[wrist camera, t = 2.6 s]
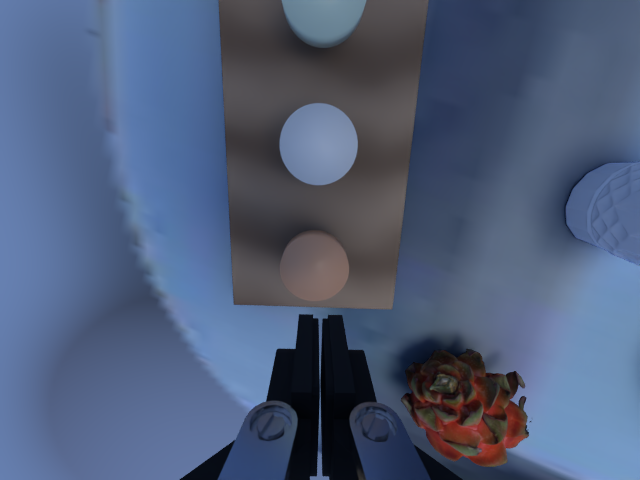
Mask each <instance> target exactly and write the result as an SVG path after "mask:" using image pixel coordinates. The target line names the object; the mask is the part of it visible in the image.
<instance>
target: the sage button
mask: <svg viewBox="0 0 640 480" xmlns="http://www.w3.org/2000/svg"><path fill="white" fill-rule="evenodd" d="M282 4H283V9H284V13H285V16H286V19H287V22H288V24H289V26H290V28H291V29H292V31H293V32H294V33H295V35H296V36H297V37H298V38H299V39H301V40H302V41H303V42H305V43H307V44H309V45H311V46H314V47H318V48H329V47H333V46H336V45H339V44H340V43H342V42H344V41H345V40H346V39H348V38H349V37H350V36H351V35H352V33H353V32H354V31H355V29H356V28H357V26H358V24H359V22H360V19H361V17H362V14H363V10H364V7H365V4H366V0H282Z"/></svg>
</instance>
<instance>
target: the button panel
mask: <svg viewBox="0 0 640 480" xmlns="http://www.w3.org/2000/svg"><path fill="white" fill-rule="evenodd" d="M427 9H428V0H366V4H365V7H364V10H363V14H362V17H361V19H360V22H359V24H358V26H357V28H356V29H355V31H354V32H353V33H352V35H351V36H350V37H349V38H348V39H346V40H345V41H344V42H342V43H340V44H339V45H336V46H333V47H329V48H318V47H314V46H311V45H309V44H307V43H305V42H303V41H302V40H301V39H299V38H298V37H297V36H296V35H295V33H294V32H293V31H292V29H291V28H290V26H289V24H288V22H287V19H286V16H285V13H284V9H283V4H282V0H219V17H220V37H221V57H222V77H223V97H224V117H225V137H226V158H227V178H228V198H229V218H230V238H231V258H232V278H233V298H234V305H266V306H299V307H331V308H363V309H392V307H393V298H394V290H395V281H396V273H397V264H398V256H399V247H400V239H401V230H402V221H403V213H404V204H405V196H406V187H407V179H408V170H409V162H410V153H411V145H412V136H413V128H414V119H415V111H416V102H417V94H418V85H419V77H420V68H421V60H422V51H423V43H424V34H425V26H426V17H427ZM313 103H324V104H329V105H332V106H334V107H336V108H338V109H340V110H341V111H342V112H344V113H345V114H346V115H347V116H348V118H349V119H350V120H351V122H352V124H353V126H354V128H355V130H356V134H357V140H358V149H357V155H356V158H355V161H354V163H353V165H352V167H351V168H350V169H349V171H348V172H347V173H346V174H345V175H344V176H343V177H342V178H340V179H339V180H337V181H335V182H333V183H330V184H326V185H311V184H307V183H305V182H302V181H300V180H299V179H297V178H296V177H294V176H293V175H292V174H291V173H290V171H289V170H288V169H287V167H286V166H285V164H284V162H283V160H282V157H281V153H280V135H281V131H282V128H283V126H284V124H285V122H286V121H287V119H288V118H289V117H290V116H291V115H292V114H293V113H294V112H295V111H296V110H298V109H299V108H301V107H303V106H305V105H308V104H313ZM310 230H320V231H325V232H327V233H329V234H331V235H333V236H334V237H336V238H337V239H338V240H339V241H340V242H341V244H342V245H343V247H344V249H345V252H346V255H347V259H348V262H349V276H348V279H347V281H346V284H345V285H344V287H343V288H342V289H341V290H340V291H339V292H338V293H337V294H336V295H334V296H333V297H331V298H329V299H326V300H322V301H307V300H303V299H300V298H298V297H296V296H295V295H293V294H292V293H291V292H290V291H289V290H288V289H287V288H286V287H285V285H284V283H283V282H282V279H281V275H280V262H281V259H282V256H283V253H284V250H285V248H286V246H287V244H288V243H289V242H290V240H291V239H292V238H294V237H295V236H296V235H298V234H300V233H302V232H305V231H310Z"/></svg>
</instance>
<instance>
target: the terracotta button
mask: <svg viewBox="0 0 640 480" xmlns="http://www.w3.org/2000/svg"><path fill="white" fill-rule="evenodd" d="M280 275H281V279H282V282H283V283H284V285H285V287H286V288H287V289H288V290H289V291H290V292H291V293H292V294H293V295H295V296H296V297H298V298H300V299H303V300H307V301H322V300H326V299H329V298H331V297H333V296H334V295H336V294H337V293H338V292H339V291H340V290H341V289H342V288H343V287H344V285H345V284H346V281H347V279H348V276H349V262H348V259H347V255H346V252H345V249H344V247H343V245H342V244H341V242H340V241H339V240H338V239H337V238H336V237H334V236H333V235H331V234H329V233H327V232H325V231H320V230H310V231H305V232H302V233H300V234H298V235H296V236H295V237H294V238H292V239H291V240H290V242H289V243H288V244H287V246H286V248H285V250H284V253H283V256H282V259H281V262H280Z"/></svg>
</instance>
